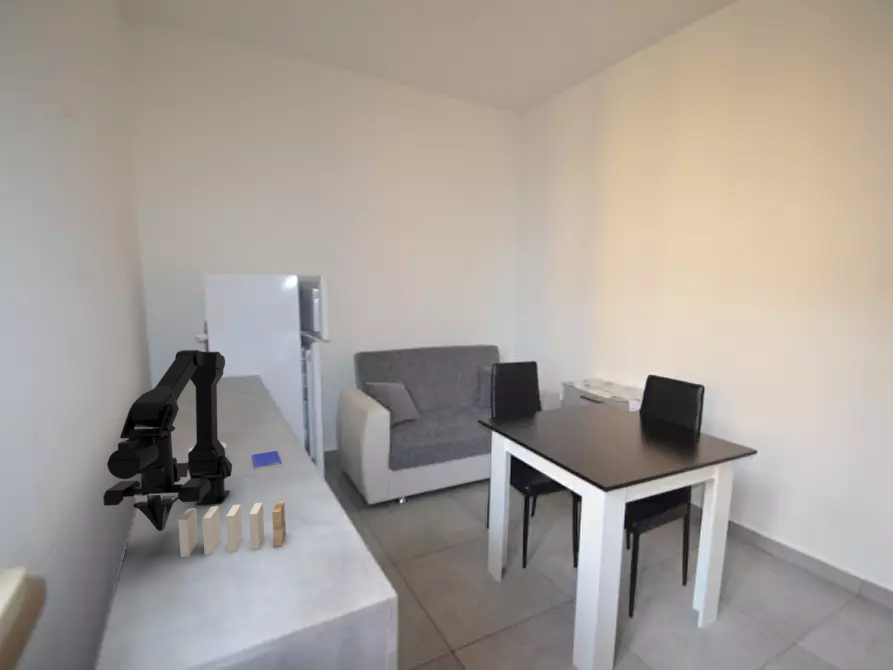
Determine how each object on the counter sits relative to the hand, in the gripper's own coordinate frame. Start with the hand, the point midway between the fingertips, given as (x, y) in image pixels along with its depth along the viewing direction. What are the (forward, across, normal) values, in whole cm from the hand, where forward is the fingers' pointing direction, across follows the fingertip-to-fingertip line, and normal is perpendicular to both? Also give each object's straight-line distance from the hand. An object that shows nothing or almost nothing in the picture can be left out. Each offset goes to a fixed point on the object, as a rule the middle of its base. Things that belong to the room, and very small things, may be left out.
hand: (161, 529), depth 92 cm
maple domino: (+5, -24, -2) cm, 24 cm away
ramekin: (+5, +12, -50) cm, 52 cm away
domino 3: (+5, -14, -1) cm, 15 cm away
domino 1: (+5, -5, 0) cm, 7 cm away
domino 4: (+5, -19, -2) cm, 20 cm away
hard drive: (+6, -6, -50) cm, 50 cm away
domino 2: (+5, -10, -1) cm, 11 cm away
